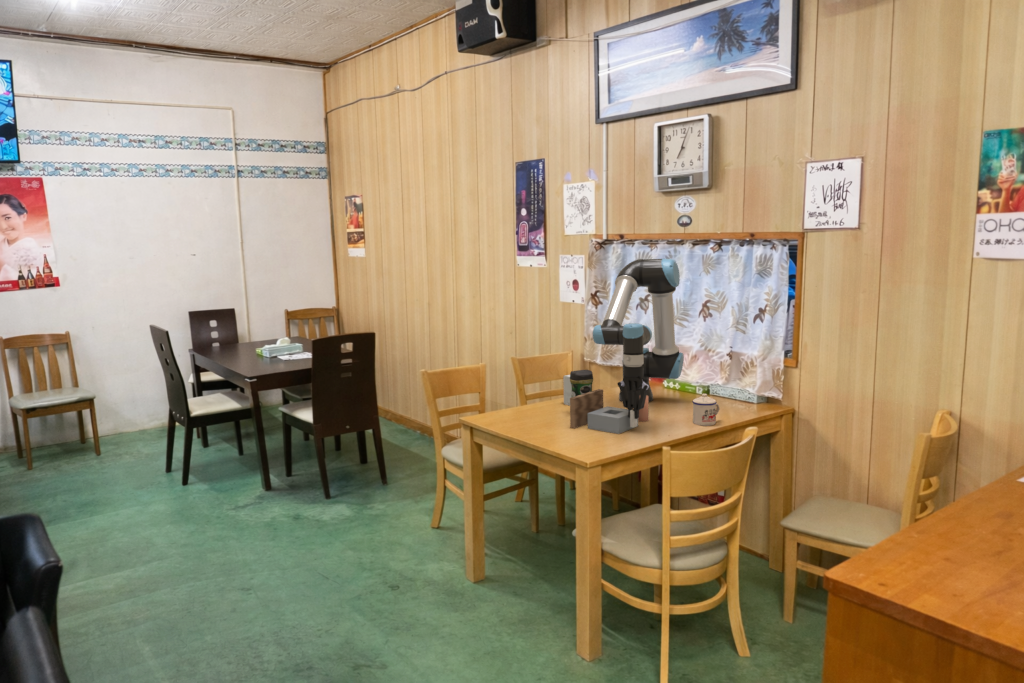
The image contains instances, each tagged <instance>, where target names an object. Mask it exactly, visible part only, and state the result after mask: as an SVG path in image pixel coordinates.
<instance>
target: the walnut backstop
mask: <svg viewBox="0 0 1024 683" xmlns="http://www.w3.org/2000/svg"><path fill="white" fill-rule="evenodd" d="M601 408H604V389H601V388H600V389H599V388H598V389H595V390H592V391H591V392H588V393H585V394H581V395H578V396H575V397H572V398H570V406H569V412H570V413H569V414H570V415H569V416H570V417H569V418H570V419H569V420H570V422H569V424H570V429H578V428H580V427H584V426H586V425H588V413H590V412H593V411H595V410H598V409H601Z"/></svg>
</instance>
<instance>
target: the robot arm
mask: <svg viewBox="0 0 1024 683" xmlns="http://www.w3.org/2000/svg"><path fill="white" fill-rule="evenodd" d="M680 280H681V279H680V270H679V266H678V263H677V261H676V260H675V259H672V258H649V259H648V258H646V259H645V258H640V259H635V260H633V261H631V262H629V263H627V264H626V265H625V266H624V267H623V268H622V269H621V270H620V271H619V272H618V274H617V275H616V278H615V281H614V285H615V288H614V290H613V294H612V296H611V299H610V302H609V304H608V307H607V311H606V313H605V316H604V318H603V320H602V321H603V322H602V324H597V325H595V326H594V327H593V329H592V340H593V342H594V344H596V345H604V346H607V345H609V346H612V345H613V346H622V349H623V350H622V353H623V354H622V360H621V361H622V380H621V381H619V382H617V386H618V388H619V393H618V394H619V395H618V400H619V401H621V402H622V404H623V405H622V406H623V408H625V409H628V417H629V418H630V427H633V428H632V429H634V427H635V428H637V427H638V426H637V419H638V418H639V410H640V409H643V408H644V405H645V400H646V395H647V396H648V403H651V402H652V401H653V400H654V394H653V391H652V388H651V385H650V379H664V380H665V379H666V380H671V379H672V380H675V379H679V378H680V376H681V374H682V370H683V367H684V357H685V356H684V353H683V352H682V351H680V348H679V347H678V346H677V345H676V337H675V336H676V334H675V333H676V332H675V318H674V316H675V315H674V299H673V294H674V293H675V292H676V288H677V287H679V285H680ZM639 287H642V288H645V287H646V288H647V292H648V293H649V294H650V295H651V301H652V302H651V303H652V316H653V331H654V332H652V329H651V328H650V327H649V326H647V325H645V324H644V325H643V324H641V323H635V322H634V323H625V324H623V323H624V320H625V317H626V315H627V311H628V309H629V306H630V302H631V300H632V296H633V294H634V293H635V292H636V290H637V289H638V288H639ZM653 334H654V347H653V348H651V349H652V350H651V351H650V349H649V348H648V347H644V346H646V345H648V343H649V342H650V341H651V340H652V339H653V338H652V337H653ZM636 426H637V427H636Z"/></svg>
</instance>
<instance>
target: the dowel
mask: <svg viewBox="0 0 1024 683" xmlns="http://www.w3.org/2000/svg"><path fill="white" fill-rule="evenodd" d="M648 421H649V402H648V396H647V395H646V400H645V405H644V408H643V409H640V410H639V418H638V422H642V423H643V422H648Z"/></svg>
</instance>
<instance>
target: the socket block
mask: <svg viewBox="0 0 1024 683" xmlns="http://www.w3.org/2000/svg"><path fill="white" fill-rule="evenodd" d="M638 427H639V421H638V419H637V426H636V427H634V428H638ZM634 428H633V427H630V418H629V417H628V409H627V408H621V407H620V408H619V407H616V406H608V405H607V406H603V408H601V409H598V410H595V411H593V412H590V413H588V424H587V430H588V429H589V430H594V431H600V432H606V433H612V434H616V435H617V434H618V435H620V434H622V433H624V432H627V431H629V430H632V429H634Z"/></svg>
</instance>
